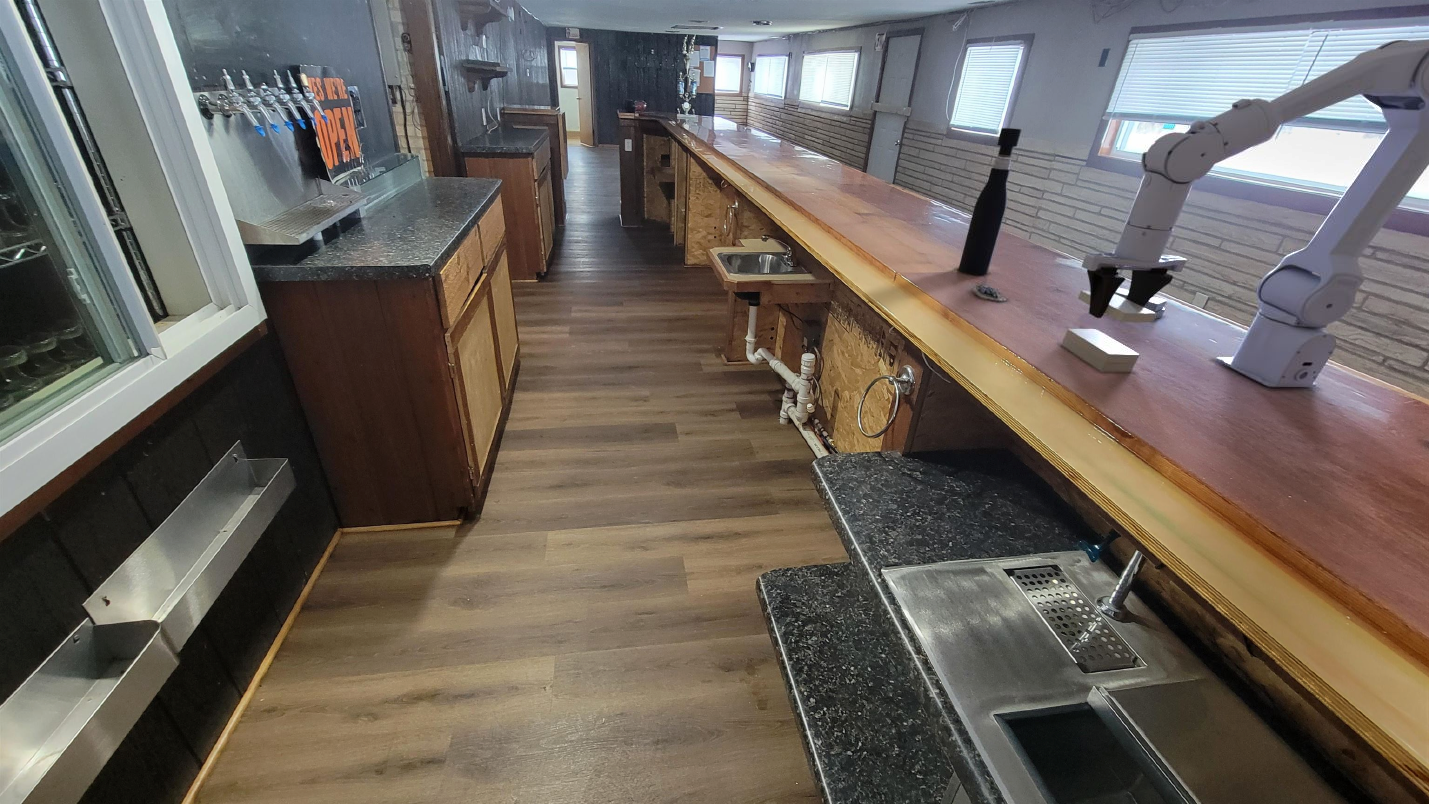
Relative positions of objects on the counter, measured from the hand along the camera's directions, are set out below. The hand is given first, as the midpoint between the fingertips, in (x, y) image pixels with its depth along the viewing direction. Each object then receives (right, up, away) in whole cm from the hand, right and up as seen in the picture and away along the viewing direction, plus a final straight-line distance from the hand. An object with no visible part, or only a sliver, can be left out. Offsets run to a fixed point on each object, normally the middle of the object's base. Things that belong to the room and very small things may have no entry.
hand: (1111, 315), depth 87 cm
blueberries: (-5, +9, +29) cm, 31 cm away
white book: (0, +1, 0) cm, 1 cm away
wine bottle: (-1, +17, +45) cm, 48 cm away
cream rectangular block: (0, -6, +4) cm, 7 cm away
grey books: (+21, +5, +25) cm, 33 cm away
